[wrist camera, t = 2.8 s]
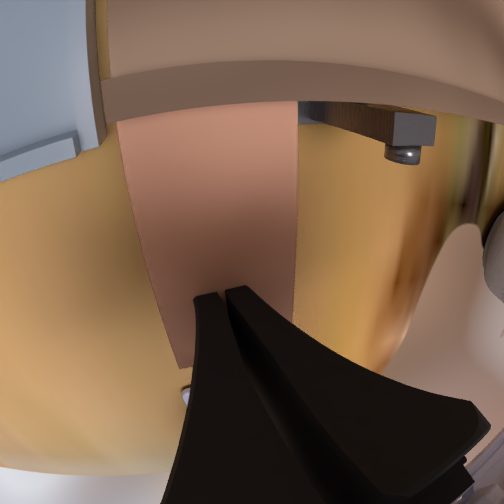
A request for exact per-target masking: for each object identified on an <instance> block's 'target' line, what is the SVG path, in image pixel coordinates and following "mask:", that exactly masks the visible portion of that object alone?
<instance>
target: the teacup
mask: <svg viewBox="0 0 504 504" xmlns="http://www.w3.org/2000/svg"><path fill="white" fill-rule="evenodd" d="M483 266H484V276H485V281H486V284H487V286H488V288H489V289H490V290H491V292H492V293H493V294H494V295H495V296H496V297H497V298H498V299H500V300H501V301H502V302H503V303H504V211H503V212H502V213H501V214H500V215H499V216H498V218H497V219H496V221H495V222H494V224H493V226H492V228H491V230H490V232H489V235H488V237H487V240H486V243H485V247H484V251H483Z"/></svg>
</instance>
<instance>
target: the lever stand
mask: <svg viewBox="0 0 504 504" xmlns="http://www.w3.org/2000/svg"><path fill="white" fill-rule="evenodd" d="M436 119H437V117H436V116H433V115H429V114H425V113H422V112H418V111H414V110H410V109H406V108H401V107H397V106H393V105H385V104H373V103H359V102H338V101H298V124H323V123H325V124H328V125H332V126H335V127H339V128H342V129H345V130H348V131H351V132H354V133H357V134H360V135H363V136H366V137H369V138H372V139H375V140H378V141H381V142H383V143H385V153H384V157H385V158H386V159H388V160H390V161H393V162H396V163H400V164H406V165H418V164H419V162H420V155H421V146H434V140H435V130H436Z"/></svg>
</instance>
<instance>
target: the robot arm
mask: <svg viewBox="0 0 504 504" xmlns="http://www.w3.org/2000/svg"><path fill="white" fill-rule="evenodd" d="M225 295H226V303H227V311H228V314H227V311H226V308H225V305H224V303H223V301H222V300H221V298H220V296H219V294H218V292H212V293H208V294H203V295H198V296H196V297H195V298H194V299H193V303H194V308H195V318H196V335H195V354H194V363H193V372H192V380H191V387H190V388H187V389H184V390H183V391H182V397H183V400H184V402H185V404H186V406H187V410H186V415H185V420H184V424H183V428H182V433H181V437H180V441H179V445H178V449H177V453H176V456H175V460H174V463H173V466H172V470H171V473H170V476H169V480H168V483H167V486H166V489H165V492H164V495H163V499H162V501H161V503H160V504H504V428H503V429H502V430H501V431H500V432H499V433H498V434H497V435H496V437H495V438H494V439H493V440H492V441H491V442H490V443H489V444H488V445H487V446H486V447H485V448H484V449H483V450H482V451H481V452H480V453H479V454H478V455H477V456H476V457H475V458H474V459H473V460H472V461H471V462H470V463H468V464H467V465H466V466H465V467H464V465H463V464H464V463H466V461H467V459H466V457H465V456H464V455H466V454H467V453H468V452H469V451H470V450H471V449H472V448H473V447H474V446H475V445H476V444H477V443H478V442H479V441H480V440H481V439H482V438H483V437H484V436H485V435H486V434H487V433H488V432H489V430H490V428H491V424H490V423H489V422H488V421H487V419H486V418H485V417H484V416H483V415H482V413H481V412H480V411H479V410H478V409H477V407H476V406H475V405H474V404H473V403H472V402H471V401H467V400H462V399H457V398H452V397H448V396H442V395H438V394H434V393H430V392H427V391H424V390H420V389H417V388H414V387H411V386H407V385H405V384H402V383H400V382H397V381H394V380H392V379H389V378H387V377H384V376H382V375H380V374H377V373H375V372H372V371H370V370H368V369H366V368H364V367H362V366H360V365H358V364H356V363H354V362H352V361H350V360H348V359H346V358H345V357H343V356H341V355H339V354H337V353H336V352H334V351H332V350H331V349H329V348H327V347H326V346H324V345H322V344H321V343H319V342H318V341H316V340H315V339H313V338H312V337H310V336H309V335H307V334H306V333H305V332H303V331H302V330H300V329H299V328H298V327H296V326H295V325H294V324H292V323H291V322H290V321H288V320H287V319H286V318H284V317H283V316H282V315H281V314H279V313H278V312H277V311H276V310H274V309H273V308H272V307H271V306H270V305H269V304H267V303H266V302H265V301H264V300H263V299H262V298H260V297H259V296H258V295H257V294H256V293H255V292H254V291H253V290H252V289H251V288H250V287H248V286H246V285H243V286H239V287H235V288H230V289H226V290H225ZM461 496H462V499H460V500H458V498H460V497H461ZM457 500H458V501H457ZM455 501H456V502H455ZM454 502H455V503H454Z"/></svg>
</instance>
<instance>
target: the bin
mask: <svg viewBox="0 0 504 504" xmlns="http://www.w3.org/2000/svg"><path fill="white" fill-rule="evenodd" d="M106 137H107V134H106V127H105V120H104V113H103V106H102V98H101V89H100V80H99V70H98V57H97V42H96V17H95V0H0V182H2V181H5V180H7V179H10V178H13V177H15V176H18V175H21V174H24V173H27V172H30V171H33V170H36V169H39V168H42V167H45V166H48V165H51V164H54V163H58V162H61V161H64V160H68V159H71V158H75V157H77V156H78V155H79V153H80V152H81V151H85V150H89V149H93V148H97V147H99V146H100V145H101V144H102V142H103V141H104V140H105V138H106Z"/></svg>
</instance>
